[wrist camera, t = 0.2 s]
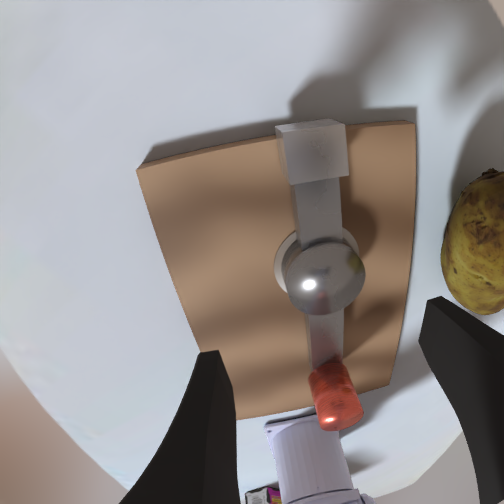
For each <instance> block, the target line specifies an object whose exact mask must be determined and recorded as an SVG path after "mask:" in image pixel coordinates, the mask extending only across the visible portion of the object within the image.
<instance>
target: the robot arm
mask: <svg viewBox="0 0 504 504" xmlns="http://www.w3.org/2000/svg"><path fill="white" fill-rule="evenodd" d="M419 344H420V346H421V348H422V351H423V353H424V356H425V358H426V360H427V362H428V365H429V366H430V368H431V370H432V372H433V373H434V375H435V377H436V379H437V380H438V382H439V384H440V385H441V387H442V389H443V391H444V392H445V394H446V396H447V398H448V399H449V401H450V403H451V405H452V407H453V408H454V410H455V413H456V415H457V417H458V419H459V421H460V424H461V427H462V429H463V432H464V435H465V437H466V441H467V444H468V447H469V450H470V453H471V457H472V461H473V465H474V469H475V473H476V478H477V484H478V491H479V499H480V504H498V503H499V502H501V501H502V500H504V335H502V334H500V333H499V332H497V331H496V330H494V329H492V328H491V327H489V326H488V325H486V324H484V323H483V322H481V321H480V320H478V319H477V318H475V317H474V316H472V315H471V314H469V313H468V312H466V311H464V310H463V309H461V308H460V307H458V306H457V305H455V304H454V303H452V302H450V301H449V300H447V299H445V298H444V297H442V296H439V297H436V298H433V299H430V300H427V304H426V309H425V314H424V319H423V323H422V328H421V332H420V336H419ZM264 431H265V434H266V437H267V440H268V443H269V446H270V448H271V451H272V454H273V457H274V459H275V463H276V469H277V476H278V482H279V488H280V494H281V500H282V504H376V503H375V501H374V499H373V498H372V497H370V496H368V495H367V494H360V493H359V490H358V488H357V489H354V487H353V483H352V480H351V476H350V473H349V469H348V466H347V462H346V459H345V455H344V452H343V449H342V445H341V442H340V438H339V431H340V430H338V431H325V430H322V429H321V427H320V424H319V420H318V416H317V414H316V415H312V416H307V417H303V418H298V419H293V420H288V421H283V422H278V423H272V424H267V425H265V426H264ZM119 504H241V503H240V496H239V488H238V480H237V446H236V409H235V401H234V393H233V386H232V384H231V381H230V379H229V376H228V373H227V371H226V368H225V365H224V363H223V360H222V357H221V355H220V352H219V350H213V351H207V352H201V353H199V355H198V357H197V360H196V363H195V366H194V369H193V372H192V375H191V378H190V381H189V384H188V386H187V389H186V391H185V394H184V396H183V399H182V401H181V404H180V406H179V408H178V411H177V413H176V415H175V417H174V419H173V421H172V423H171V425H170V427H169V430H168V432H167V434H166V436H165V437H164V439H163V441H162V443H161V445H160V446H159V448H158V450H157V452H156V453H155V455H154V457H153V458H152V460H151V461H150V463H149V464H148V466H147V467H146V469H145V470H144V472H143V473H142V475H141V476H140V478H139V479H138V480H137V482H136V483H135V485H134V486H133V487H132V488H131V490H130V491H129V492H128V493H127V494H126V496H125V497H124V498H123V499H122V500H121V502H120V503H119Z"/></svg>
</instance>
